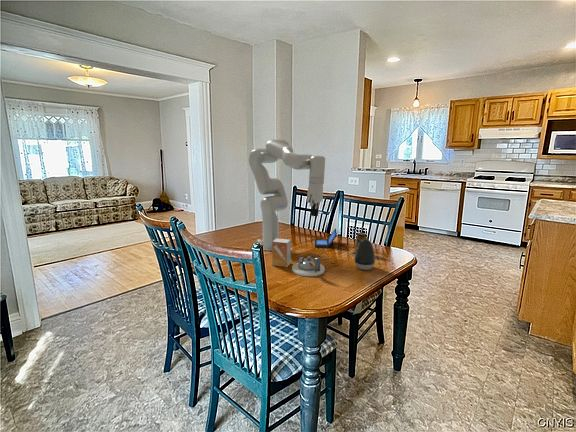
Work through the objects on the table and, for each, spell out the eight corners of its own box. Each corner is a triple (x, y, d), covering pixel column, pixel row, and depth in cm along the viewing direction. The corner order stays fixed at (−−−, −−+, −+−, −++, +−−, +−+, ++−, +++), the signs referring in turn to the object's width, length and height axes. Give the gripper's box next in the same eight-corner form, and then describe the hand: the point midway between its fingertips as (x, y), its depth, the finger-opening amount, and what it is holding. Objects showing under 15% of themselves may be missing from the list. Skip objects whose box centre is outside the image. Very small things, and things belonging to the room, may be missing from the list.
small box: (272, 265, 162) (272, 241, 160) (276, 261, 168) (276, 238, 166) (287, 267, 160) (287, 242, 157) (290, 263, 166) (291, 239, 163)
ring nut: (295, 264, 159) (295, 250, 157) (313, 262, 163) (313, 247, 161) (308, 276, 144) (309, 260, 143) (328, 273, 148) (328, 257, 146)
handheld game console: (314, 241, 209) (315, 227, 207) (335, 241, 207) (335, 228, 206) (314, 248, 194) (314, 233, 192) (336, 249, 192) (337, 234, 190)
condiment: (369, 254, 181) (370, 234, 179) (358, 257, 177) (360, 236, 174) (360, 251, 187) (361, 231, 185) (349, 253, 183) (350, 233, 180)
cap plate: (287, 273, 152) (287, 270, 152) (298, 262, 167) (298, 260, 166) (319, 278, 146) (319, 275, 146) (328, 267, 161) (328, 264, 160)
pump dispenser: (361, 263, 167) (363, 235, 164) (378, 268, 159) (380, 239, 156) (349, 267, 161) (350, 238, 157) (366, 273, 153) (368, 243, 150)
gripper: (315, 178, 168) (314, 212, 172) (303, 181, 155) (301, 217, 159) (329, 180, 164) (326, 214, 168) (317, 182, 152) (315, 219, 156)
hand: (314, 215), depth 164 cm, fingers closed
